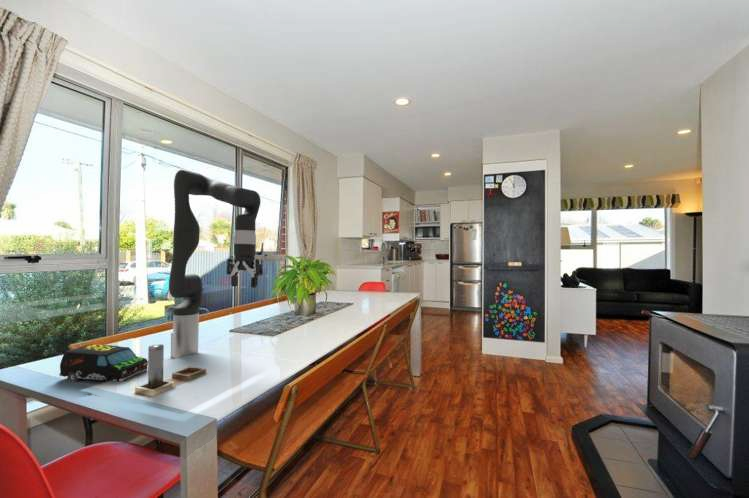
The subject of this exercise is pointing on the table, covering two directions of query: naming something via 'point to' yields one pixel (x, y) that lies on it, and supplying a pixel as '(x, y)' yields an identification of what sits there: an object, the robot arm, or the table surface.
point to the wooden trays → (171, 381)
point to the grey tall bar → (155, 366)
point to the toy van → (101, 363)
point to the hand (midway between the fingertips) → (244, 286)
